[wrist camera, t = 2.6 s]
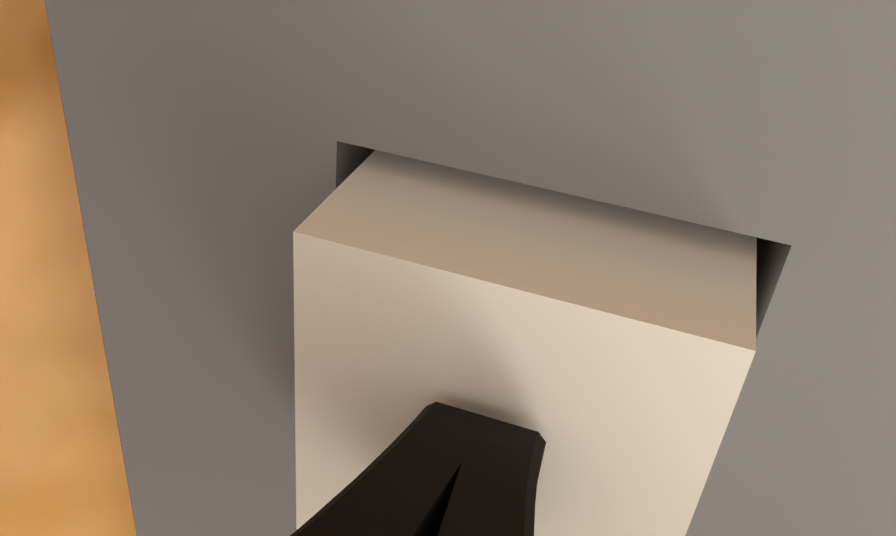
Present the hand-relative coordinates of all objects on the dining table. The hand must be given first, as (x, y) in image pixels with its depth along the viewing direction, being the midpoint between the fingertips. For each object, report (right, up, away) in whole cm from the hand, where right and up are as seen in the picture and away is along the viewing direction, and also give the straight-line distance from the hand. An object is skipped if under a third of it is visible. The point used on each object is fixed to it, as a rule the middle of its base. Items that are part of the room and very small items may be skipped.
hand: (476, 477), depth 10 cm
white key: (+1, +2, +3) cm, 3 cm away
